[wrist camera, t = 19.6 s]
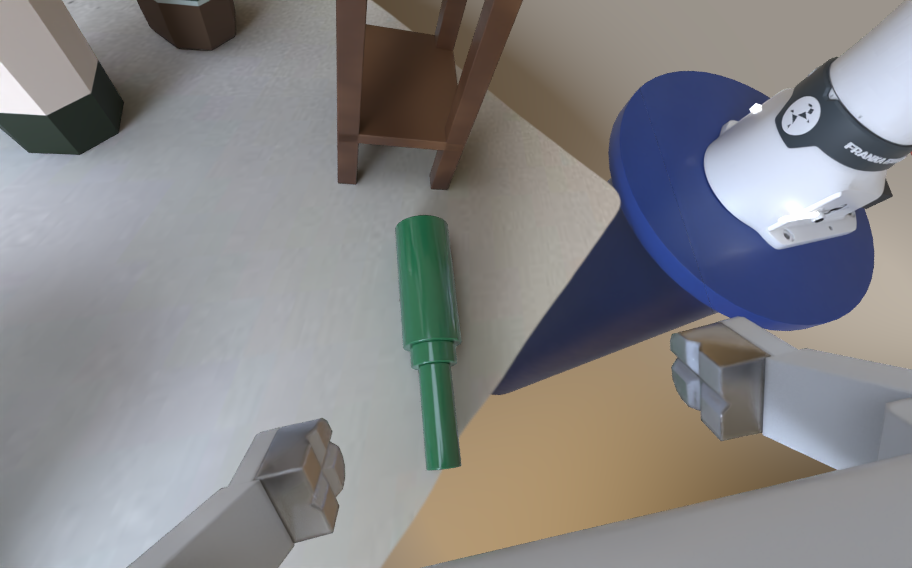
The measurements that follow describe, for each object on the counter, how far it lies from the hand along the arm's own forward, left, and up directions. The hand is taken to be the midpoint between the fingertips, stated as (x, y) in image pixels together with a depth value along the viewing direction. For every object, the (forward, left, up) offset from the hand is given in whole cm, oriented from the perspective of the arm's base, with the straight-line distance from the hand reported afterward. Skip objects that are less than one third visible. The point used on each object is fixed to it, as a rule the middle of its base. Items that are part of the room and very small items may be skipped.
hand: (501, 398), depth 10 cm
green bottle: (-2, -7, -23) cm, 24 cm away
